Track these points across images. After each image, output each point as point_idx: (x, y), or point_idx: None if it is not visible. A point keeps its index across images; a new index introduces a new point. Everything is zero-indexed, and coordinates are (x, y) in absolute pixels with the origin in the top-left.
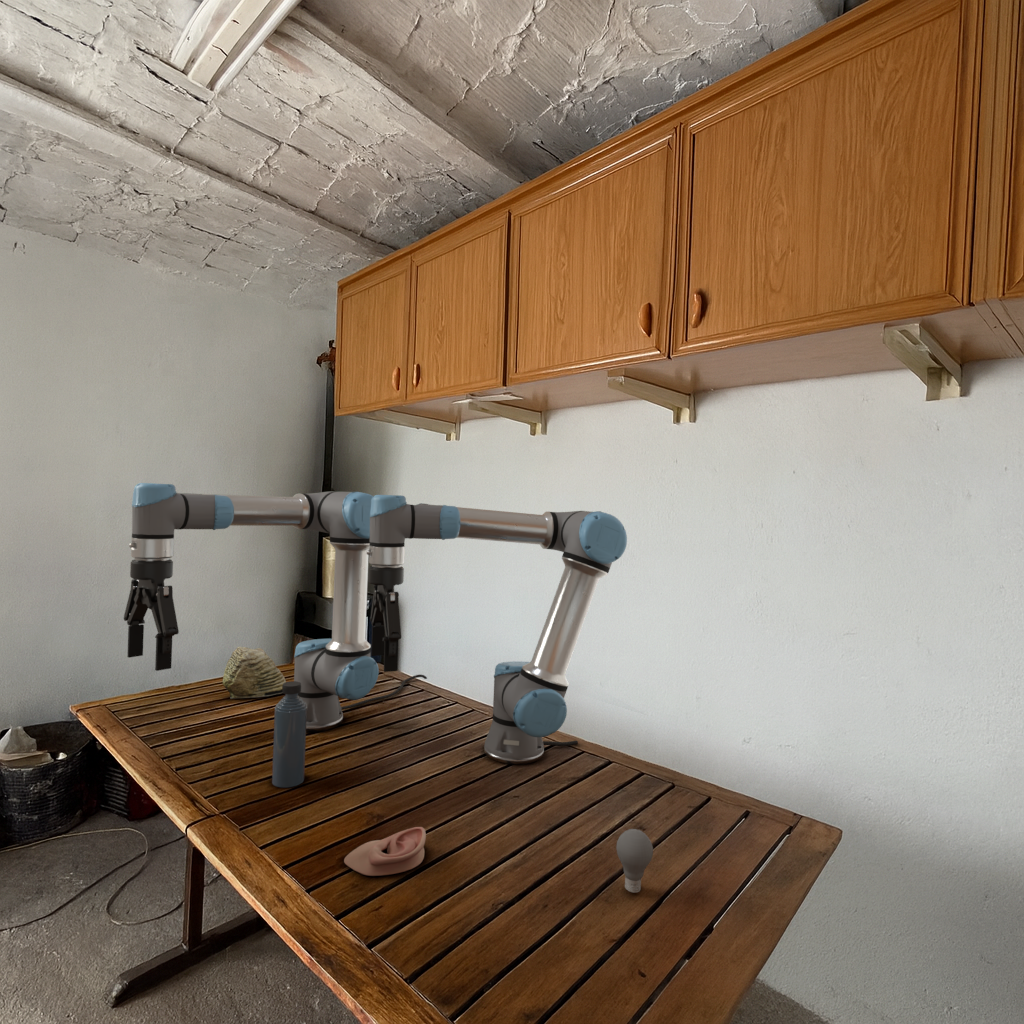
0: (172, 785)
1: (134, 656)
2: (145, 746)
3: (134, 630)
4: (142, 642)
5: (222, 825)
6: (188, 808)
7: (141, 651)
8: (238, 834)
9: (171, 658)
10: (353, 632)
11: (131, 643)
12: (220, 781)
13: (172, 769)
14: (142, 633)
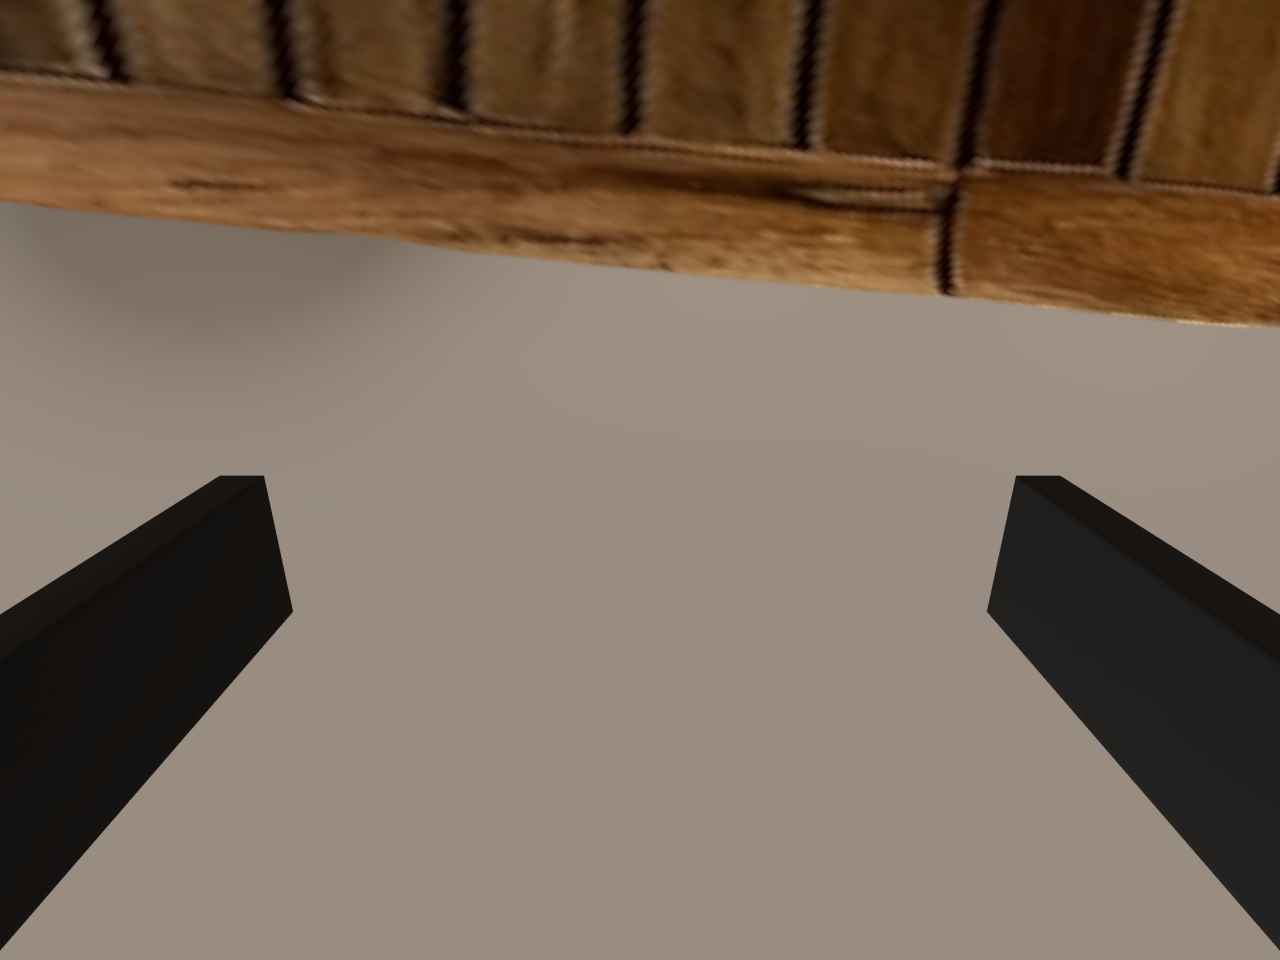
0: (601, 193)
1: (282, 563)
2: (86, 93)
3: (27, 827)
4: (162, 563)
5: (1043, 209)
6: (832, 237)
7: (236, 512)
8: (1143, 200)
9: (1135, 525)
10: None
11: (190, 696)
12: (707, 17)
13: (442, 120)
14: (40, 649)
